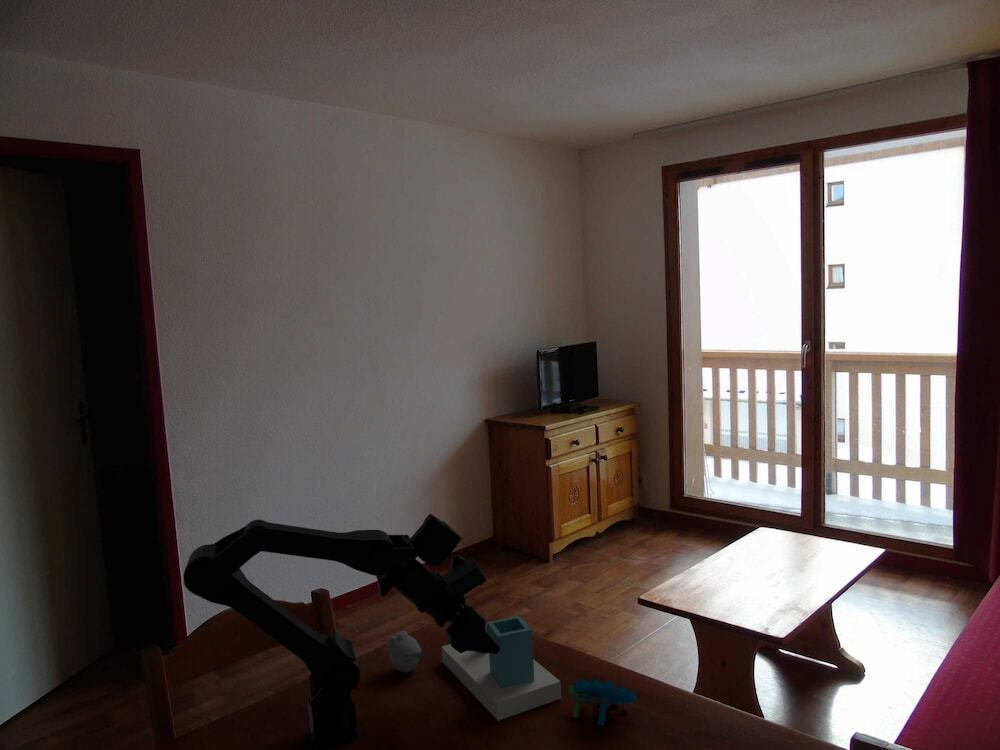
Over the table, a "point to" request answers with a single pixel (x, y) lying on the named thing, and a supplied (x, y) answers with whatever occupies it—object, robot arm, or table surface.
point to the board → (484, 687)
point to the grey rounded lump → (403, 651)
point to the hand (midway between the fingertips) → (489, 639)
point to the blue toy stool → (599, 696)
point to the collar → (511, 652)
